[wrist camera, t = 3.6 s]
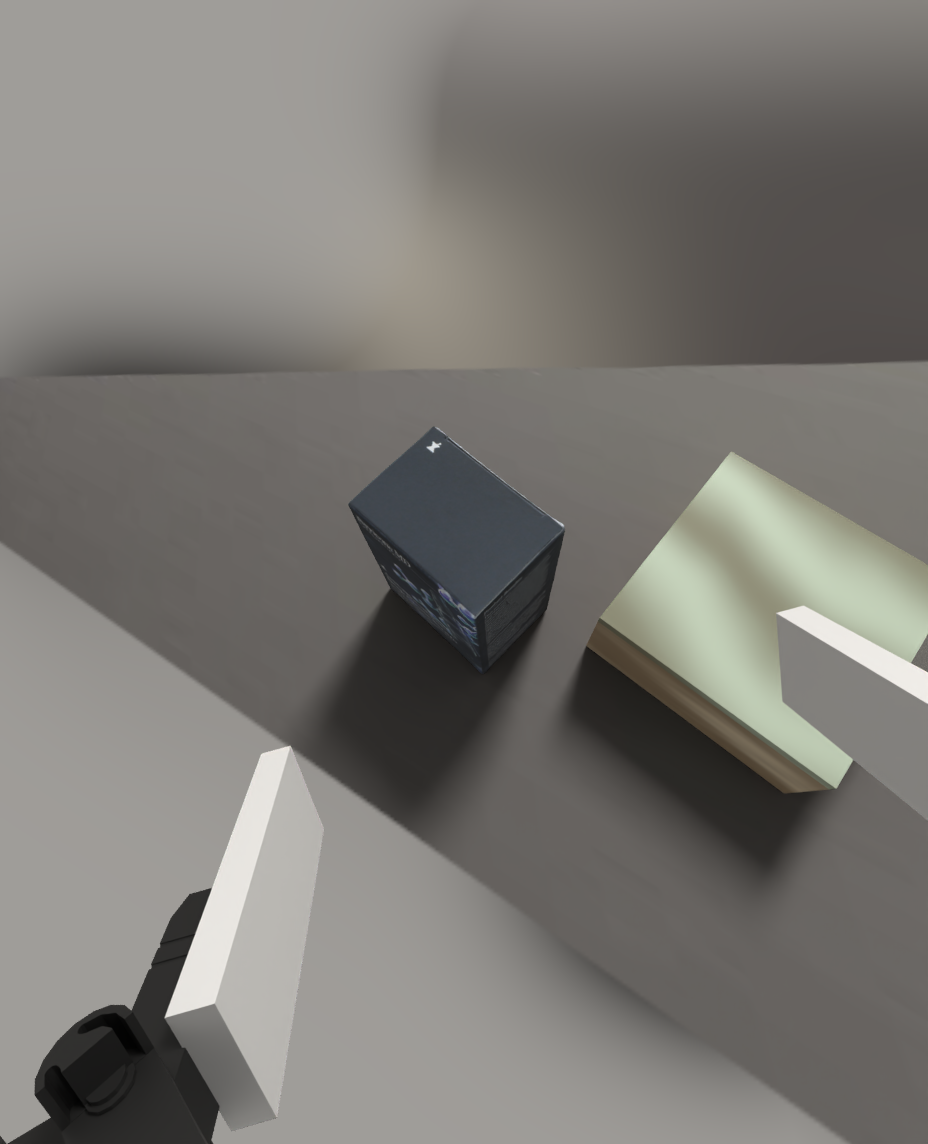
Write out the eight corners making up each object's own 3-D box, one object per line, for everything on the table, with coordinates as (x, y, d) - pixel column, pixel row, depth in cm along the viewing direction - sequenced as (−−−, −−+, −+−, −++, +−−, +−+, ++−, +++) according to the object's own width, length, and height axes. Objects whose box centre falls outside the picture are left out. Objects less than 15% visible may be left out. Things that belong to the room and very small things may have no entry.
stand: (702, 498, 36) (731, 451, 31) (893, 616, 32) (958, 582, 28) (586, 645, 33) (599, 617, 28) (784, 793, 29) (836, 788, 25)
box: (387, 589, 35) (343, 500, 25) (454, 526, 36) (436, 419, 27) (483, 679, 33) (474, 619, 23) (550, 608, 34) (569, 524, 24)
